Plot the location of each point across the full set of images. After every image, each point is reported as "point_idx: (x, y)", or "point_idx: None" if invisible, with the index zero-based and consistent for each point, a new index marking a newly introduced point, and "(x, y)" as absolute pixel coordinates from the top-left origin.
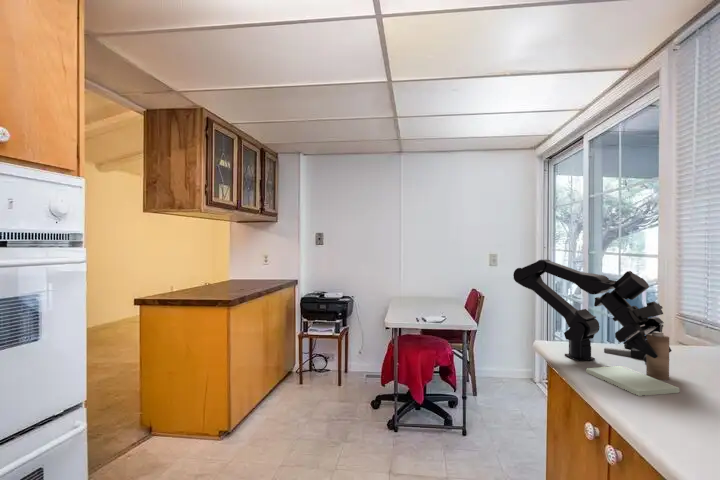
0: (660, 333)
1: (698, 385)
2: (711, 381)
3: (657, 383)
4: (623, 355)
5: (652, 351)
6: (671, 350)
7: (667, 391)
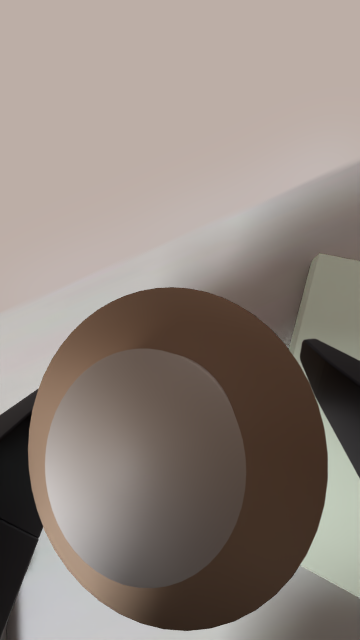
0: (174, 380)
1: (177, 271)
2: (105, 273)
3: (352, 312)
4: (5, 631)
5: (358, 364)
6: None
7: None
